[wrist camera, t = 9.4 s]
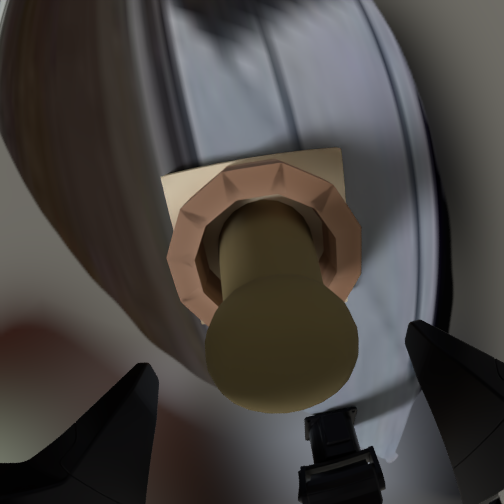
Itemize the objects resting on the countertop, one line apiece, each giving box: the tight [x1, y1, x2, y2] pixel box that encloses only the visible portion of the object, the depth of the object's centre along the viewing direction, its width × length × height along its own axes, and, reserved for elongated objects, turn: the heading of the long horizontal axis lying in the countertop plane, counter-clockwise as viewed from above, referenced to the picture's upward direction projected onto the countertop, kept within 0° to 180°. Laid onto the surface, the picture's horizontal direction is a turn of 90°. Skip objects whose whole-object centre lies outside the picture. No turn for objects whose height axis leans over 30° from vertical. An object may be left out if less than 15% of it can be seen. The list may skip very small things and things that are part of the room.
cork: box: [205, 200, 358, 413], centre depth 12 cm, size 6×6×11 cm
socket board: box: [161, 147, 361, 326], centre depth 16 cm, size 11×11×4 cm
